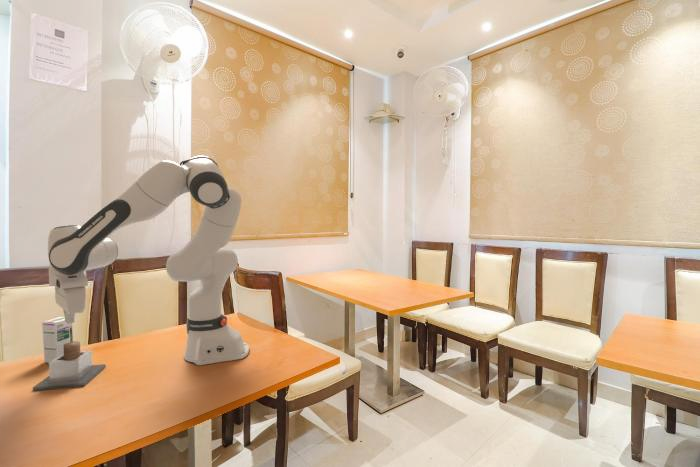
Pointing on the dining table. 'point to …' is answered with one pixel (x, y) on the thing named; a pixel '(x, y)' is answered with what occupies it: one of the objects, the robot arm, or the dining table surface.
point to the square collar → (70, 372)
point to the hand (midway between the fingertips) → (69, 322)
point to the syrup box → (55, 337)
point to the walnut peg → (71, 350)
